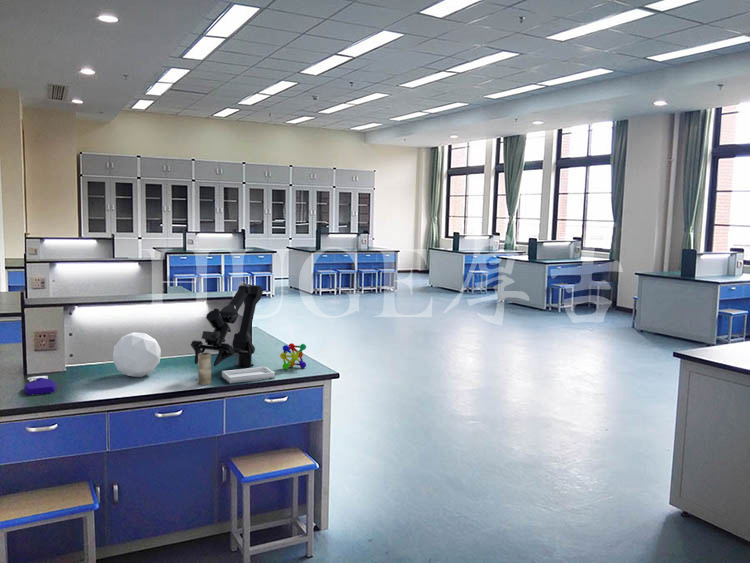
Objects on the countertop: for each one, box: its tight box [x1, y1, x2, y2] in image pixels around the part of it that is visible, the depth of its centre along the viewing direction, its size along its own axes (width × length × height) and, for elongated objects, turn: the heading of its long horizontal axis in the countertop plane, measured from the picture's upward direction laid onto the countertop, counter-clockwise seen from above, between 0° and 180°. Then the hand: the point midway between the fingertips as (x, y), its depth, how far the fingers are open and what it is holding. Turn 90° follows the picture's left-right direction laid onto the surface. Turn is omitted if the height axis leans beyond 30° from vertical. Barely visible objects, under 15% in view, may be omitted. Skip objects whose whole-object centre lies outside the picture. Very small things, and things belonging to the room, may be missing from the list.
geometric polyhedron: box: [112, 331, 162, 378], centre depth 268 cm, size 19×20×20 cm
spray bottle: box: [24, 375, 57, 396], centre depth 248 cm, size 3×11×24 cm
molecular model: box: [279, 342, 307, 370], centre depth 288 cm, size 12×7×12 cm, turn 116°
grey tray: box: [221, 366, 276, 384], centre depth 270 cm, size 20×12×2 cm, turn 119°
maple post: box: [197, 352, 212, 386], centre depth 259 cm, size 5×5×13 cm
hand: (204, 364), depth 259 cm, fingers open, 9 cm apart
